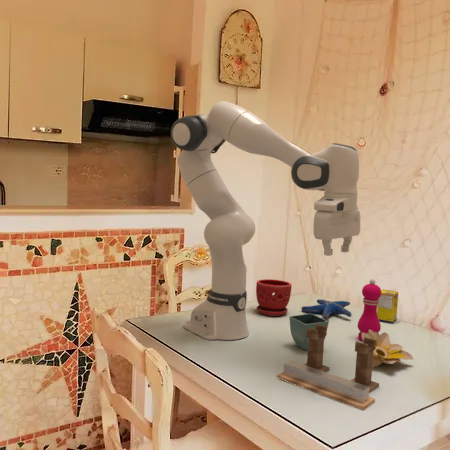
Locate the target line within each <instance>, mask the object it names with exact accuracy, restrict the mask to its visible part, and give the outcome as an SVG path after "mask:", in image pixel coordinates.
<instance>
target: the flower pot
mask: <svg viewBox="0 0 450 450" xmlns="http://www.w3.org/2000/svg"><path fill="white" fill-rule="evenodd" d="M288 317H289V328H290V334H291V337H292V340H293V342H294V343H295V346H297V347H299V348H301V349H303V350H305V351H308V341H309V338H308V337H306V335H307V328H311V329H315V330H316V325H317V324H318V325H322V326H326V327H327V329H328V328H329V327H328V326H329V320H327V319H326V318H322V317H320V316H318V315H316V314H313V313H304V314H298V315H290V316H288ZM326 336H327V335H326ZM326 336H324V340H325V339H326V338H327V337H326Z"/></svg>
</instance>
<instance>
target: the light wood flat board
mask: <svg viewBox="0 0 450 450" xmlns="http://www.w3.org/2000/svg"><path fill="white" fill-rule="evenodd" d="M283 373H284V371H282V372H280V373H278V374H276V378H277V377H278V378H280V379H279V380H281V379H283V380H286V381H288V382H287V383H289V382H291V383H293V384H292V385H294V384H296V385H295V386H297V385H299V386H302V387H304V388H303V389H305V388H306V389H305V390H307V389H309V390H308V391H310V390H311V392H313V391H314V392H313V393H316V392H317V393H316V394H318V393H319V395H321V394H322V395H321V396H325V397H326V396H327V397H326V398H329V399H332V398H333V400H334V399H335V400H334V401H337V400H338V401H337V402H340V401H341V402H340V403H342V402H344V403H343V404H345V403H346V404H345V405H348V404H349V405H348V406H350V405H351V407H353V406H354V407H353V408H355V409H358V408H360V409H359V410H361V409H362V411H364V410H366V409H368V408H369V407H370V406H372V404H373V403H374V404H375V401H376V398H374V397H372V396H369V398H368V400H367V401H365V402H364V403H360V402H358V401H355V400H352V399H349V398H347V397H344V396H341V395H338V394H336V393H333V392H330V391H327V390H325V389H322V388H319V387H316V386H314V385H311V384H308V383H305V382H303V381H300V380H297V379H294V378H292V377H289V376H286V375H283ZM278 378H277V379H278ZM283 380H282V381H283ZM286 381H285V382H286ZM291 383H290V384H291ZM299 386H298V387H299ZM302 387H301V388H302Z"/></svg>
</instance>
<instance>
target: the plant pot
mask: <svg viewBox="0 0 450 450" xmlns="http://www.w3.org/2000/svg"><path fill="white" fill-rule="evenodd" d="M255 287H256V288H255V295H256V296H255V297H256V301H257V303H258V305H257V306H256V309H257V312H258V313H259V314H261V315H264V316H268V317H278V316H279V317H281V316H283V315H286V314H287V313H288V308H287V306H288V305H289V302H290V299H291V294H292V283H290V281H289V282H288V281H285V280H280V279H269V278H267V279H265V278H264V279H259V280H257V281H256V286H255Z"/></svg>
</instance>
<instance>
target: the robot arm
mask: <svg viewBox="0 0 450 450" xmlns="http://www.w3.org/2000/svg"><path fill="white" fill-rule="evenodd" d="M170 137H171V138H170V139H171V141H172V143H173V144H174V146H175V147H176V148H177V149H180V150H181V152H180V153H179V155H178V156H177V160H176V161H177V162H176V163H177V165H178V169H179V172H180V175H181V176H182V177H181V178H182V180H183V182H184V184H185V186H186V188H187V189H188V192H189V193H190V195H191V197H192V198H193V200H194V202H195V204H196V206H197V207H198V209H199V210H200V211H202V212H203V213H204V214H205V215H206V217H208V218H209V220H210V221H209V222H208V223H206V225H205V228H204V232H203V237H204V241H205V243H206V244H207V246H208V248H209V254H210V260H211V261H210V262H211V288H210V289H208V290H204V292H205V293H204V295H207V297H206V300H204V301H202V302H201V303H199V304H198V305H196V307H194V308H193V309H192V311H191V313H190V319H189V320H187V321H186V322H184V323H183V324H182V328H184V329H185V330H188V331H189V332H192V333H193V334H196V335H198V336H199V337H201V338H204V339H205V340H223V341H224V340H225V341H227V340H228V341H232V340H240V339H244V338H246V337H248V335H249V330H248V324H247V316H246V313H247V312H246V305H247V299H248V297H247V296H248V295H247V289H246V286H247V285H246V284H247V265H246V263H245V260H244V255H243V246H245V245H246V244H248V243H249V242H250V241H251V240H252V239H253V237H254V235H255V233H256V224H255V222H254V219H252V218H251V217H250V216H249V215H248V214H247V213H246V212H245V210H244V209H243V207H242V206H241V205H240V204H239V202H238V201H237V200H236V198H234V196H233V195H232V194H231V192H230V191H229V189H228V188H227V186H226V184H225V182H224V181H223V179H222V177H221V175H220V173H219V172H218V170H217V168H216V166H215V165H214V163H213V161H212V158H211V155H212V154H216V153H217V152H218V151H219V149H220V148H221V147H222V146H223V145H224V143H226V142H227V143H229V144H230V145H232V146H233V147H235V148H236V149H239V150H241V151H243V152H246V153H249V154H252V155H253V154H254V155H259V156H265V157H271V158H273V159H276V160H279V161H280V162H282V163H284V164H285V165H287V166H289V167H290V168H291V169H290V170H291V171H290V172H291V179H292V182H293V183H294V185H296V186H297V187H298V188H300V189H302V190H307V191H320V192H324V194H323V196H322V197H320V199H318V200H316V201H315V202H314V204H313V210H315V211H316V212H315V213H314V217H313V236H314V238H315V239H316V240H322V241H321V244H322V247H323V255H324V256H327V257H330V256H332V255H333V248H332V245H331V244H332V243H333V241H332V240H336V239H343V242H342V245H341V246H340V251H341V253H349V251H350V246H351V243H352V240H353V237H355V236H359V235H360V232H361V212H360V210H359V207H358V206H357V205H358V204H357V203H358V187H357V184H358V181H359V177H360V157H359V156H360V155H359V152H358V150H357V149H356V148H355V147H354V146H352V145H347V144H343V143H342V144H341V143H337V142H335V143H330V144H329V145H327V147H325V148H323V149H321V150H319V151H317V152H313V153H310V152H308V151H306V150H305V149H303V148H301V147H300V146H298V145H297V144H294V143H293V142H291V141H289V140H288V139H286V138H285V137H284V136H282V135H281V134H280V133H278V132H277V131H276V130H275V129H273V128H272V127H271V126H270V125H269V124H268V123H266V122H265V121H264V120H262V119H261V118H260V117H259V116H257V115H256V114H254V113H253V112H252V111H249V110H248V109H246V108H244V107H242V106H239V105H238V104H235V103H232V102H230V101H226V100H221V101H219V102H216V103H215V104H214V105H213V106H212V107H211V109H210V111H209V113H208V114H201V113H200V114H195V115H185V116H182V117H180V118H178V119H176V120H175V121H174V122H173V123H172V126H171V128H170Z"/></svg>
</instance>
